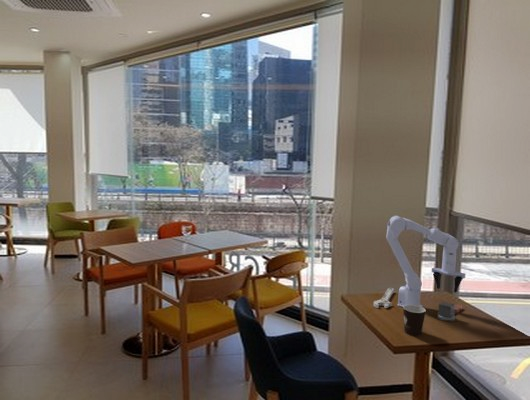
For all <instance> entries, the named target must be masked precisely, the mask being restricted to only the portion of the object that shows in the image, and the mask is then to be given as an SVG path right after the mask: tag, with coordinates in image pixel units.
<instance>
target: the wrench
mask: <svg viewBox="0 0 530 400" xmlns="http://www.w3.org/2000/svg"><path fill="white" fill-rule="evenodd" d="M394 289H395V288H393V287H388V288H387V289H386V291H385V293H384V294H383V296H382V297H381V298H380V299H378V300H374V301H373V304H372V305H373V307H374V308H376V309H379V308H380V307H384V308H385V309H388V308H389V307H393V303H392V302H390V299H391V297H392V296H393V293H395V292H394V291H395V290H394Z"/></svg>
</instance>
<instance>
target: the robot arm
mask: <svg viewBox="0 0 530 400" xmlns="http://www.w3.org/2000/svg"><path fill="white" fill-rule="evenodd" d="M386 228H387V229H386V233H385V235H386V236H385V238H386V241H387V243H388V244H389V246H390V249H391V250H392V252H393V255H394V257H395V258H396V260H397V263H398V264H399V267H400V268H401V270H402V273H403V274H404V280H405V282H406V284H405V285H403V286H402V285H401V286H400V287H399V290H398V294H397V295H398V297H397V306H398V307H402V308H403V306H405V305H416V306H420V307H423V306H424V305H422V304H421V292H422V291H421V289H422V286H423V283H422V280H421V279H420V277H419V276H418V274H417V273H416V272H415V271H414V269H413V267H412V265H411V263H410V261H409V259H408V257H407V255H406V253H405V251H404V249H403V247H402V245H401V244H400V242H399V240H398V238H399V236H400V234H401V233H402V232H403V231H405V230H406V231H408V230H413V231H416V232H418V233H420V234H423V235H425V236H427V239H428V240H430V241H431V242H434V243H437V244H438V245H441V246H443V249H442V250H443V251H442V261H441V267H431V273H433V275H432V276H433V279H434V280H435V285H436V289H438V290H439V289H440V288H441V278H442V275H445V276H451V277H454V288H453V289H454V290H453V293H457V292H458V289H459V287H460V285H461V283H462V281H463V279H466V273H463V272H460V271H457V270H456V265H457V249H458V248H459V246H460V243H459V240H458V239H457V238H456V237H454V236H452V234H450V233H446V232H443V231H442V230H441V229H440V228H438V227H437V228H435V227H433V228H428V227H425V226H424V225H421V224H420V223H417V222H415V221H413V220H411V219H409V218H405V217H402V216H400V215H393V216H392V217H390V219H389V220H388V222H387V226H386ZM423 308H424V307H423Z"/></svg>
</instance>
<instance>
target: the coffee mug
mask: <svg viewBox="0 0 530 400" xmlns="http://www.w3.org/2000/svg"><path fill="white" fill-rule="evenodd" d="M402 309H403V326H404V328H403V329H404V333H405V334H407V335H409V336H412V337H413V336H414V337H418V336H421V335H422V332H423V328H424V322H425V316H426V312H427V310H426V308H424V307H420V306H416V305H405V306H403V307H402Z"/></svg>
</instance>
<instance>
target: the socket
mask: <svg viewBox="0 0 530 400" xmlns="http://www.w3.org/2000/svg"><path fill="white" fill-rule="evenodd" d="M455 305H456V304H455V303H452V302H447V301H442V302H440V303H438V313H437V315H440V316H444V317H447V318H451V317H452V316H454V315H455V314H454V308H455Z"/></svg>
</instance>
